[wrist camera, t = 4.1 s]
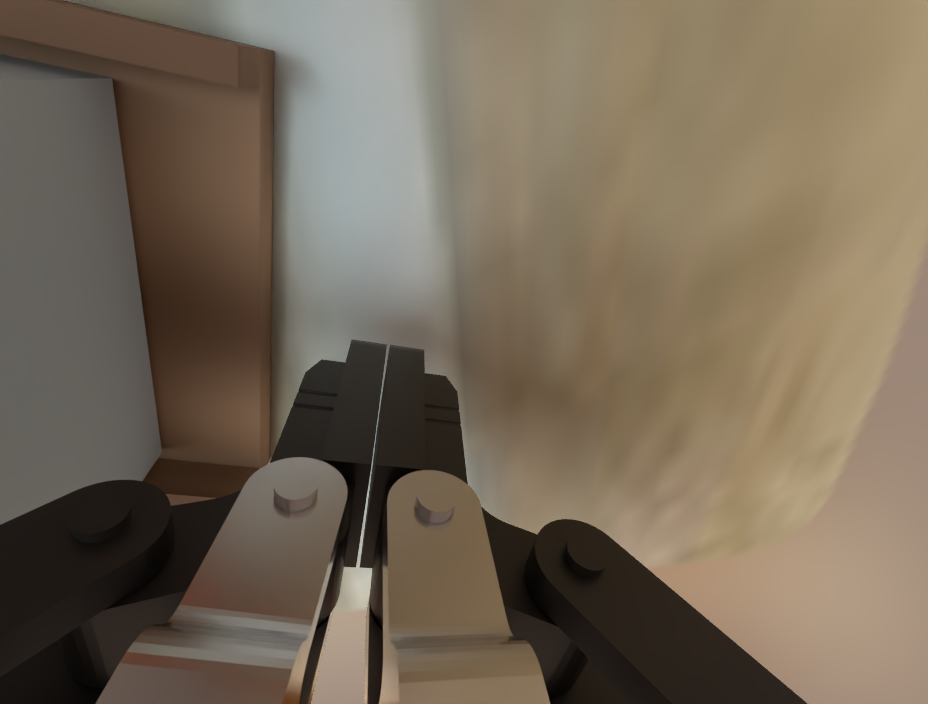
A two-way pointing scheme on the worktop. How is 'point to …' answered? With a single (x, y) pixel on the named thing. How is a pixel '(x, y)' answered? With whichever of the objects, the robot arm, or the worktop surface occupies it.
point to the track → (186, 223)
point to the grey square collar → (67, 293)
